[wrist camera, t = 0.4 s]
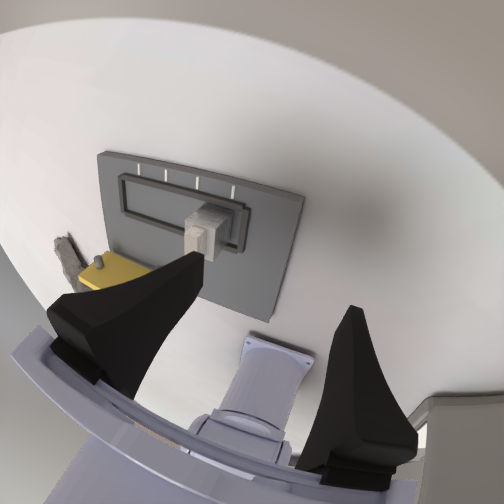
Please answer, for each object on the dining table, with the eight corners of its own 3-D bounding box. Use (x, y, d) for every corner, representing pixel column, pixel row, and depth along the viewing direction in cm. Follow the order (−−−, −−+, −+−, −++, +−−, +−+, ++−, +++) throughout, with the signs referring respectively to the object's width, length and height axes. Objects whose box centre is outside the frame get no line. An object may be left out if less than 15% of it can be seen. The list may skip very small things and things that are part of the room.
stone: (95, 299, 40) (79, 314, 37) (55, 240, 37) (37, 253, 33) (109, 293, 36) (91, 310, 33) (64, 226, 33) (43, 239, 30)
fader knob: (229, 241, 22) (205, 271, 19) (203, 232, 23) (176, 260, 20) (233, 211, 21) (207, 238, 17) (205, 203, 21) (175, 227, 18)
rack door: (151, 275, 28) (123, 306, 24) (108, 256, 29) (79, 281, 25) (150, 262, 26) (119, 292, 23) (105, 242, 28) (75, 267, 24)
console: (272, 314, 27) (247, 372, 22) (117, 253, 31) (78, 287, 26) (304, 196, 20) (278, 248, 14) (105, 151, 24) (49, 177, 18)
